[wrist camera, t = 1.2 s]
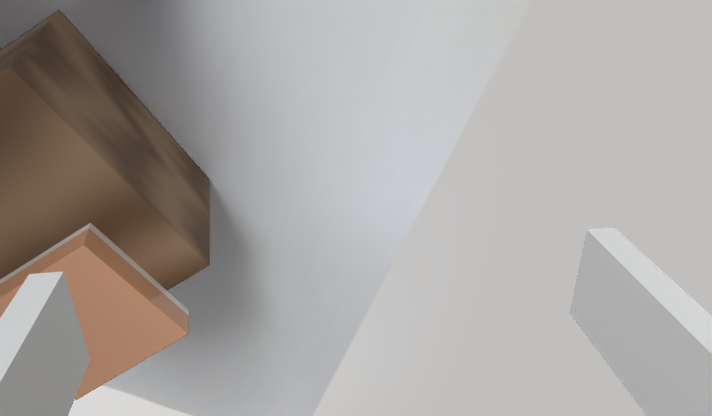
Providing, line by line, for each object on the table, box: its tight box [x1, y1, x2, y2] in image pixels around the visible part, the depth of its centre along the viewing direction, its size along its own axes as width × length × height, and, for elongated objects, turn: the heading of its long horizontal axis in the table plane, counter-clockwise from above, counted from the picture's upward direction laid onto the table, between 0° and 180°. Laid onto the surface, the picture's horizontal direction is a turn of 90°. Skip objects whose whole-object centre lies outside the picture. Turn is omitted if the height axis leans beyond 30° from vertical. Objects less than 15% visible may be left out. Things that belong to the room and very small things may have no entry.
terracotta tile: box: [0, 223, 189, 400], centre depth 31 cm, size 8×8×2 cm
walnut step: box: [0, 10, 210, 290], centre depth 34 cm, size 14×14×10 cm
